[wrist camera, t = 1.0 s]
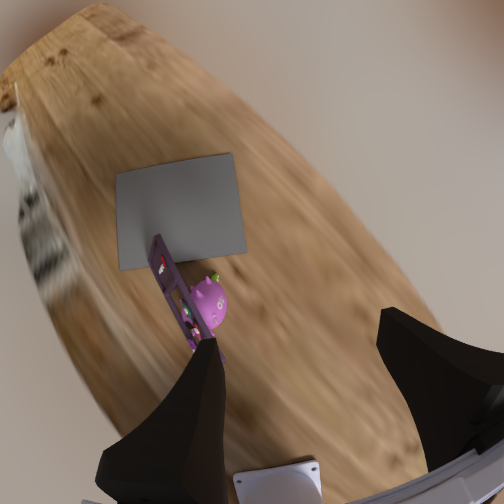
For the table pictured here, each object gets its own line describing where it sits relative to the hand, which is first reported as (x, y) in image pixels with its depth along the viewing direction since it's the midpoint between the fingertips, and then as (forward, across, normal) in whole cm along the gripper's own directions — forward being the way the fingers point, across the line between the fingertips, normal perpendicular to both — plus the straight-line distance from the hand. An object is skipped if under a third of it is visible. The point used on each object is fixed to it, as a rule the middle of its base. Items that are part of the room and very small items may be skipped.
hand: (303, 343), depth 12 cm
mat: (+15, +7, -3) cm, 17 cm away
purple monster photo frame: (+12, +6, +4) cm, 14 cm away
